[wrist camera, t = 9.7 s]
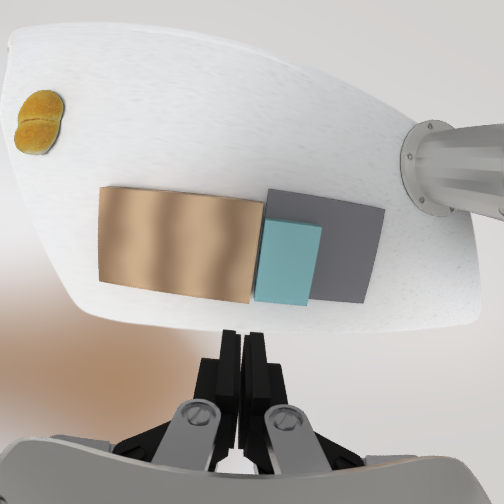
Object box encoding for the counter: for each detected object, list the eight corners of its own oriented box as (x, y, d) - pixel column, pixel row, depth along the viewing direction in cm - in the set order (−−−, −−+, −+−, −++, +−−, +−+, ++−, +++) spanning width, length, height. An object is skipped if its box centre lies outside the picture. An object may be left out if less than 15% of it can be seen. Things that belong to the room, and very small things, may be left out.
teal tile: (317, 224, 31) (322, 227, 30) (303, 298, 34) (306, 305, 32) (264, 217, 31) (265, 219, 29) (253, 293, 33) (254, 300, 32)
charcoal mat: (383, 209, 32) (385, 209, 31) (361, 301, 35) (363, 303, 34) (268, 188, 31) (269, 188, 30) (253, 291, 34) (253, 293, 33)
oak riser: (262, 201, 31) (263, 203, 29) (248, 294, 34) (249, 303, 32) (109, 186, 30) (99, 187, 28) (107, 274, 33) (99, 281, 31)
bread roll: (71, 89, 27) (54, 83, 23) (57, 155, 29) (39, 155, 25) (30, 94, 26) (13, 90, 22) (19, 154, 28) (1, 154, 25)
